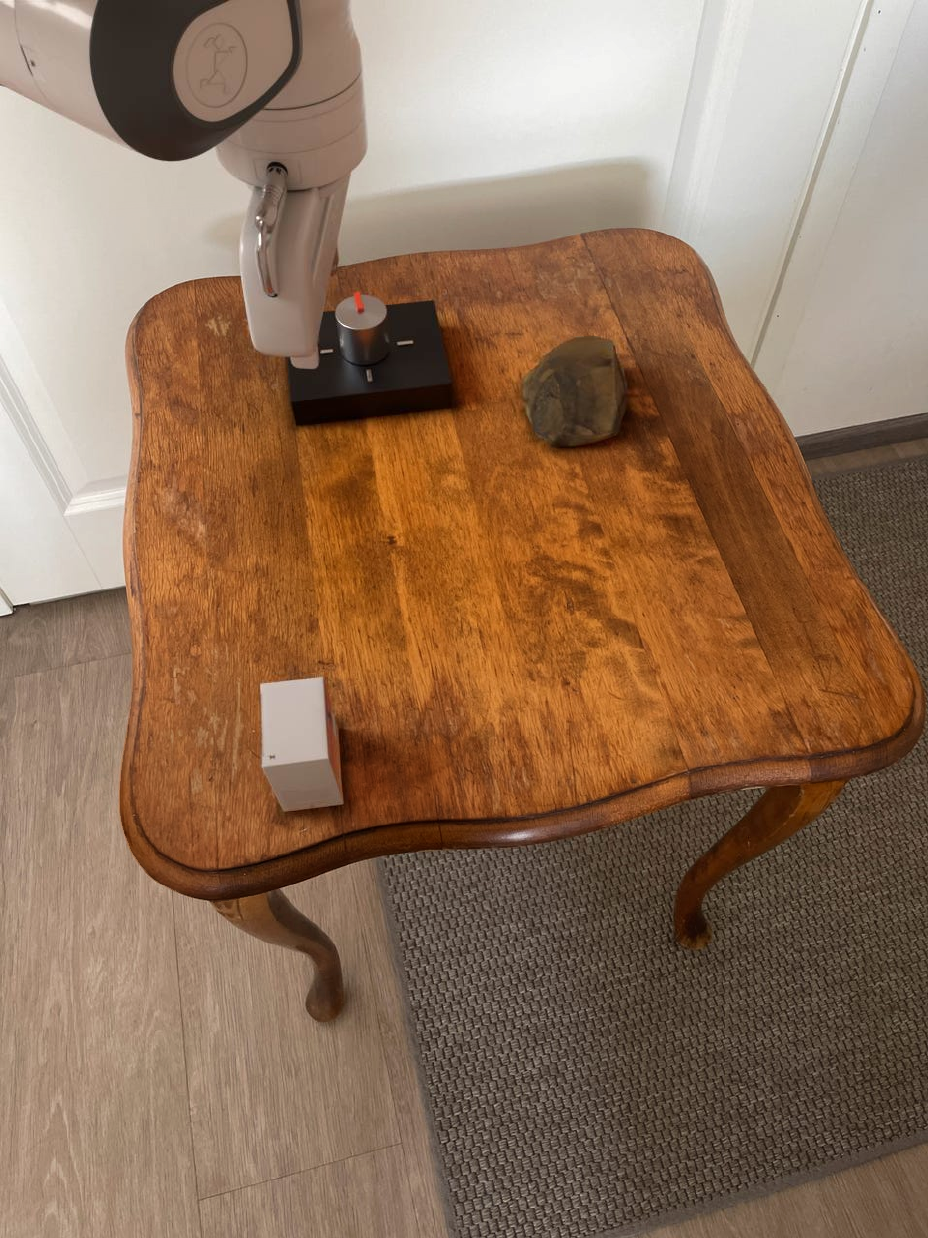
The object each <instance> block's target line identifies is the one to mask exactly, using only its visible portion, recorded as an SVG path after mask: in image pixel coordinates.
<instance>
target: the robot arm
mask: <svg viewBox="0 0 928 1238" xmlns="http://www.w3.org/2000/svg"><path fill="white" fill-rule="evenodd" d="M363 66H364V65H363V56H362V48H361V44H360V42H359V39H358V36H357V34H356V31H355V28H354V23H353V17H352V0H0V86H1V87H4V88H6V89H9V90H11V91H12V92H15V93H16V94H19V95H21V96H22V97H24V98H26V99H28V100H30V101H32V102H34V103H36V104H37V105H39V106H42V107H44V108H45V109H48V110H49V111H52V112H53V113H56V114H58V115H59V116H62V117H63V118H65V119H67V120H69V121H71V122H74V123H75V124H78V125H80V127H82V128H85V129H87V130H89V131H91V132H93V133H95V134H97V135H99V136H101V137H102V138H105V139H107V140H109V141H111V142H113V143H115V144H117V145H119V146H121V147H124V148H125V149H128V150H130V151H133V152H136V153H138V154H140V155H143V156H145V157H147V158H150V159H153V160H157V161H161V162H181V161H182V162H183V161H186V160H190V159H193V158H196V157H198V156H201V155H203V154H205V153H207V152H209V151H210V150H212V149H213V148H215V154H216V157H217V160H218V162H219V163H220V165H221V167H223V169H224V170H225V171H226V172H228V173H229V175H231V176H233V178H236V179H237V180H239V181H240V182H243V183H245V185H246V187H247V188H248V189H249V190H250V191H251V196H250V199H249V203H248V206H247V209H246V213H245V217H244V220H243V223H242V225H241V226H242V227H241V231H240V236H239V244H238V261H239V273H240V281H241V287H242V288H241V289H242V292H243V293H242V294H243V301H244V305H245V306H244V307H245V312H246V319H247V324H248V329H249V334H250V335H249V336H250V339H251V343H252V345H253V347H254V349H255V350H256V351H257V352H259V353H260V354H262V355H265V356H269V357H272V356H273V357H278V358H279V357H280V358H281V357H282V358H287V357H290V358H291V363H292V365H293V366H294V367H296V368H302V369H316V368H317V367H318V364H319V359H320V353H321V347H320V339H319V329H320V324H321V319H322V315H323V312H324V309H325V308H324V307H325V303H326V299H327V295H328V290H329V285H330V284H329V283H330V279H331V277H334V276H335V275H336V274H337V271H338V267H339V261H340V254H339V244H338V243H339V241H338V240H339V236H340V235H339V234H340V229H341V225H342V220H343V215H344V209H345V205H346V199H347V194H348V190H349V185H350V179H351V176H352V172H353V171H354V170H355V169H356V168H357V167H358V166H359V165H360V164H361V162H362V161H363V160H364V157H365V156H366V154H367V152H368V146H369V137H368V124H367V122H368V121H367V109H366V94H365V93H366V91H365V80H364V79H365V78H364V67H363Z"/></svg>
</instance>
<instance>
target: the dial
mask: <svg viewBox="0 0 928 1238" xmlns="http://www.w3.org/2000/svg"><path fill="white" fill-rule="evenodd" d="M385 305H386V304H385V303H384V301H382V300H381V299H379V298H378V297H376V296H373V295H369V294H361V292H360V291H358V292H353V295H352V296H349V297H346V298H345V299H343V300H341V302H340V303H339V304H338V305H337V306H336V309H335V310H336V312H335V315H336V322H337V329H338V336H339V343H340V349H341V353H342V355H343V356H344V358H345V359H346V360H348V361H349V362H351V363H354V364H358V365H370V364H374V363H377V362H379V361H381V360H382V359H384V358H385V357H386V355H387V354H388V352H389V349H390V342H389V330H388V319H387V309H386V306H385Z"/></svg>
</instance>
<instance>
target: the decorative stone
mask: <svg viewBox="0 0 928 1238" xmlns="http://www.w3.org/2000/svg"><path fill="white" fill-rule="evenodd" d="M616 350H617V349H616V346H615V345H614V341H613V340H612V339H608V338H604V337H601V336H597V335H583V336H577V337H576V336H575V337H573V338H571V339H568V340H565V341H564V342H562V343H560V344H558V346H556V347H554V348H552V350H551V351H550V352H548V353H546V354H543V355H542V356H541V357H540V358H539V362H538V363H537V364H536V365H535V366H534V367H533V368H532V369H531V370H529V371H528V372H527V373H526V374H525V375H524V377H523V378H522V380H521V387H522V391H521V392H522V398H523V402H524V406H525V414H526V416H527V418H528V421H529V423H530V425H531V428H532V429H533V433H534V435H536V437H538V438H540V439H543V441H544V442H545V443H547V444H548V445H549V446H552V447H554V448H559V447H560V448H561V447H570V448H571V447H577V446H583V445H588V444H593V443H597V442H601V441H604V440H608V439H611V438H614V437H616V436H618V435H619V433H620V432H621V429H622V420H623V417H624V415H625V413H626V410H627V402H628V401H627V392H628V382H627V381H628V380H627V376H626V374H625V370H624V365H623V364H622V363H621V361H620V360H619V358H618V354H617V351H616Z"/></svg>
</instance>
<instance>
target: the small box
mask: <svg viewBox="0 0 928 1238" xmlns="http://www.w3.org/2000/svg"><path fill="white" fill-rule="evenodd" d="M259 689H260V690H259V691H260V702H261V704H260V705H261V706H260V707H261V709H260V710H261V769H262V772H263V773H264V775H265V777H266V779H267V781H268V783H269V785H270V787H271V789H272V790H271V791H273V793H274V795H275V797H276V800H277V801H278V803H279V805H280V807H281V810H282V811H283V812H284V813H285V812H294V811H301V810H310V809H317V808H325V807H331V806H333V807H334V806H341V805H344V801H345V800H344V793H343V783H342V769H341V751H340V737H339V736H340V735H339V726H338V723H337V721H336V717H335V713H334V708H333V705H332V702H331V698H330V695H329V690H328V686H327V682H326V680H325V677H324V676H317V677H310V678H309V677H308V678H299V679H291V680H289V679H288V680H281V681H272V682H262V683H260V684H259Z"/></svg>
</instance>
